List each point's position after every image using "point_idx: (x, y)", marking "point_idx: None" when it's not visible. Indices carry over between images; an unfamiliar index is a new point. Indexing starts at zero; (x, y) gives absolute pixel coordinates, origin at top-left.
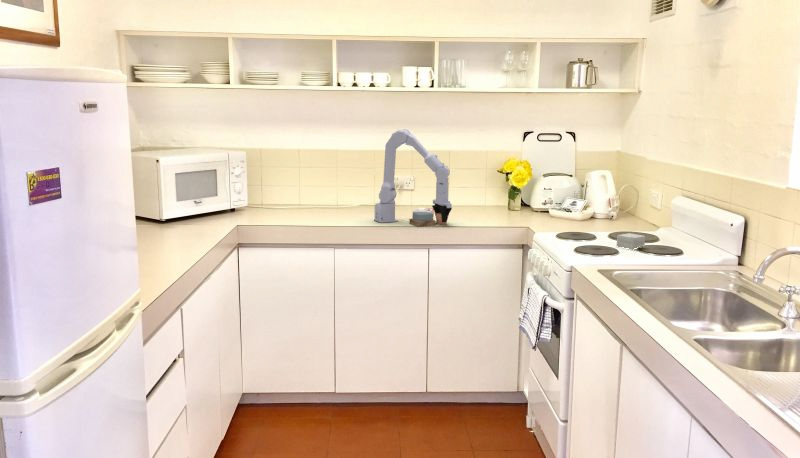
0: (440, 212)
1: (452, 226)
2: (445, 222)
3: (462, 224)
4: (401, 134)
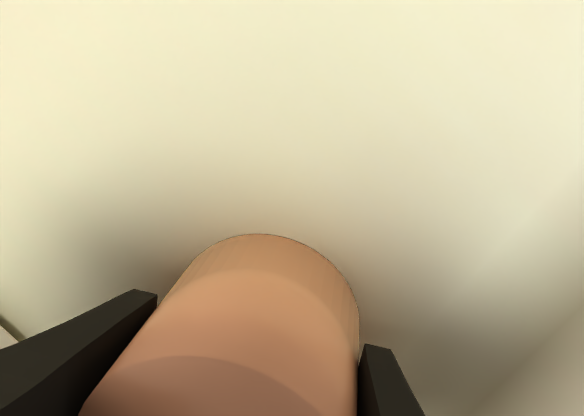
0: (62, 405)
1: (561, 324)
2: (357, 340)
3: (553, 2)
4: None
